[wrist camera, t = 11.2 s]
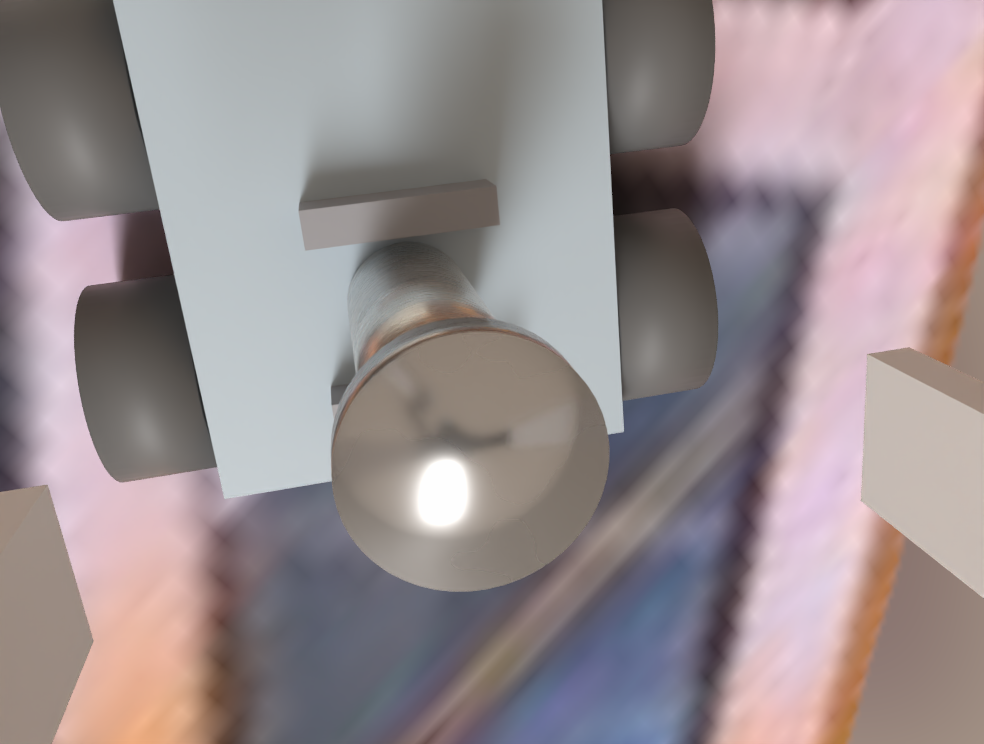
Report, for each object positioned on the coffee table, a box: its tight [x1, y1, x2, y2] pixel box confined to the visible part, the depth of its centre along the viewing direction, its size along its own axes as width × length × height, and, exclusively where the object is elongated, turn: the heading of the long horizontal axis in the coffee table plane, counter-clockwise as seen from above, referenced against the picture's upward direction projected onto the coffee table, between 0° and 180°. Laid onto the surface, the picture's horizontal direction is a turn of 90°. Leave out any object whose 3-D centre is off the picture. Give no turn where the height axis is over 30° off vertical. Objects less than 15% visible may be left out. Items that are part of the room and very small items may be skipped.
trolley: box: [0, 0, 718, 499], centre depth 26 cm, size 14×19×8 cm
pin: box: [330, 242, 609, 592], centre depth 20 cm, size 5×5×11 cm
